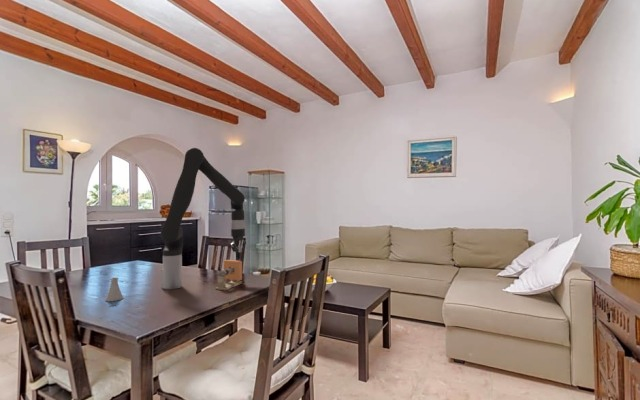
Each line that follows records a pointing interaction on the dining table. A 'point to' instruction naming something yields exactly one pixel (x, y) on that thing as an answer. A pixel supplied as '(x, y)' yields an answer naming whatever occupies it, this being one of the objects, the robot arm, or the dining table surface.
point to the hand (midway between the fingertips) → (238, 258)
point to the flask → (114, 291)
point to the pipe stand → (222, 280)
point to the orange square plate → (237, 269)
